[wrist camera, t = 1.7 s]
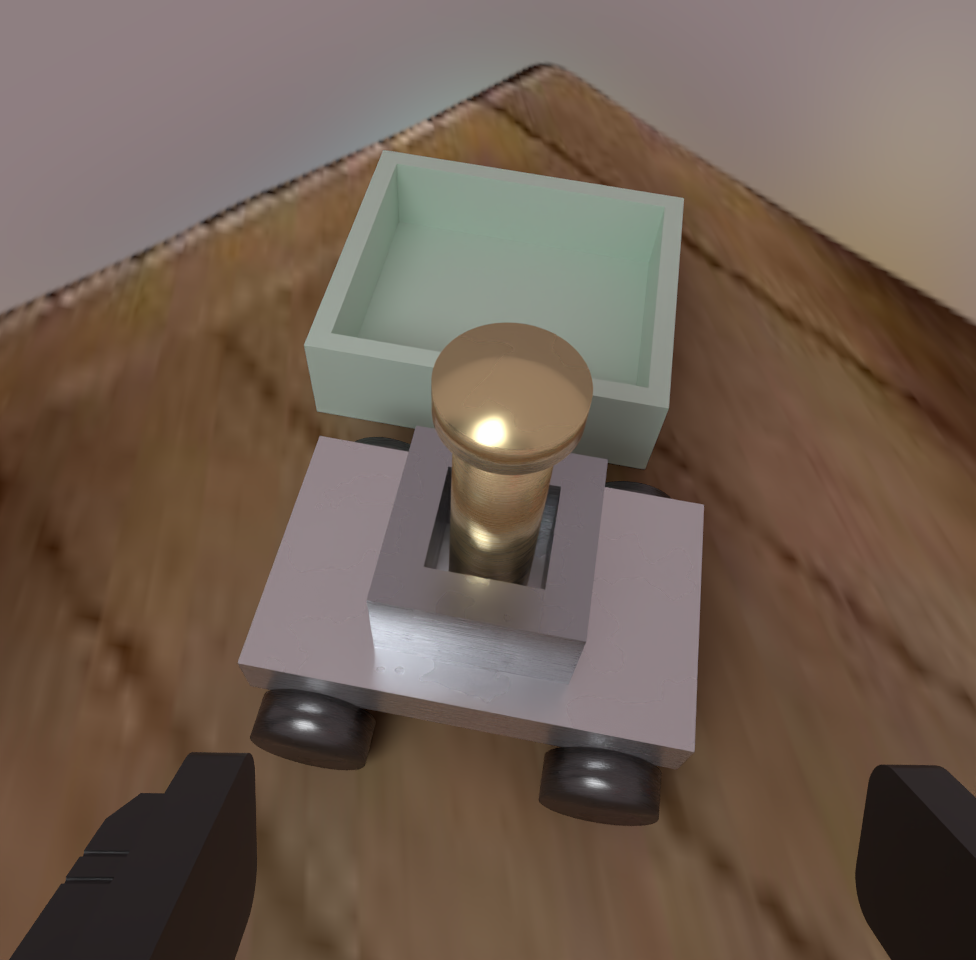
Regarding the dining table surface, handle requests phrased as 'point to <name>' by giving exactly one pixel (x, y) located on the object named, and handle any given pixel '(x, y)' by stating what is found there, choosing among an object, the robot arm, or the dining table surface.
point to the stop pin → (505, 439)
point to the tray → (501, 291)
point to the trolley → (484, 625)
